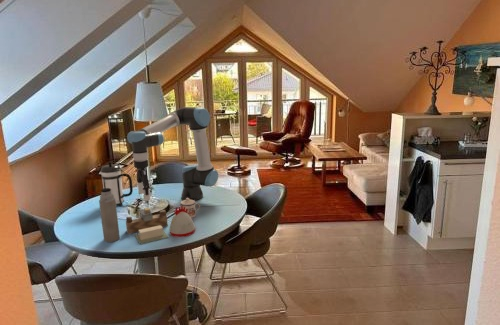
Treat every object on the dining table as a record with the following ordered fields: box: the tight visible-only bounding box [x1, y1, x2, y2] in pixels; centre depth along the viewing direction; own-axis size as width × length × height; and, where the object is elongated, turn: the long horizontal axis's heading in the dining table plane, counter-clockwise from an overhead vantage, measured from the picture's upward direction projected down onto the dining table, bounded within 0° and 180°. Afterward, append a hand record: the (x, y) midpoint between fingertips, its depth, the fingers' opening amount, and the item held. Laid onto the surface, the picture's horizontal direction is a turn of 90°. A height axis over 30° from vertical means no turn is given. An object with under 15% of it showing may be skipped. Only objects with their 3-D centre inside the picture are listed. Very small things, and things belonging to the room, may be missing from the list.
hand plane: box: [125, 209, 169, 235], centre depth 211 cm, size 22×5×8 cm, turn 119°
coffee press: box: [98, 161, 134, 207], centre depth 250 cm, size 17×16×30 cm
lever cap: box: [139, 207, 153, 222], centre depth 210 cm, size 5×8×6 cm, turn 29°
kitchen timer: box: [169, 205, 196, 238], centre depth 205 cm, size 14×14×15 cm
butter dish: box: [134, 225, 169, 245], centre depth 200 cm, size 15×12×5 cm
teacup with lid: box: [180, 198, 201, 219], centre depth 228 cm, size 12×9×12 cm
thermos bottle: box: [98, 188, 121, 243], centre depth 196 cm, size 8×8×28 cm
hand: (144, 197), depth 208 cm, fingers open, 13 cm apart
